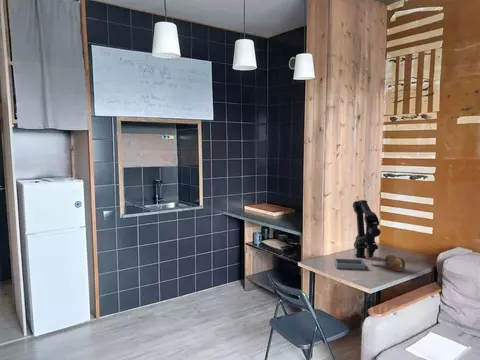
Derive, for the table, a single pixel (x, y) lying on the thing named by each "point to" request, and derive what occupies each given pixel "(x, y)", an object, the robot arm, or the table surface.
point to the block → (368, 255)
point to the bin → (349, 264)
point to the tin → (395, 263)
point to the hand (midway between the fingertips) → (369, 256)
